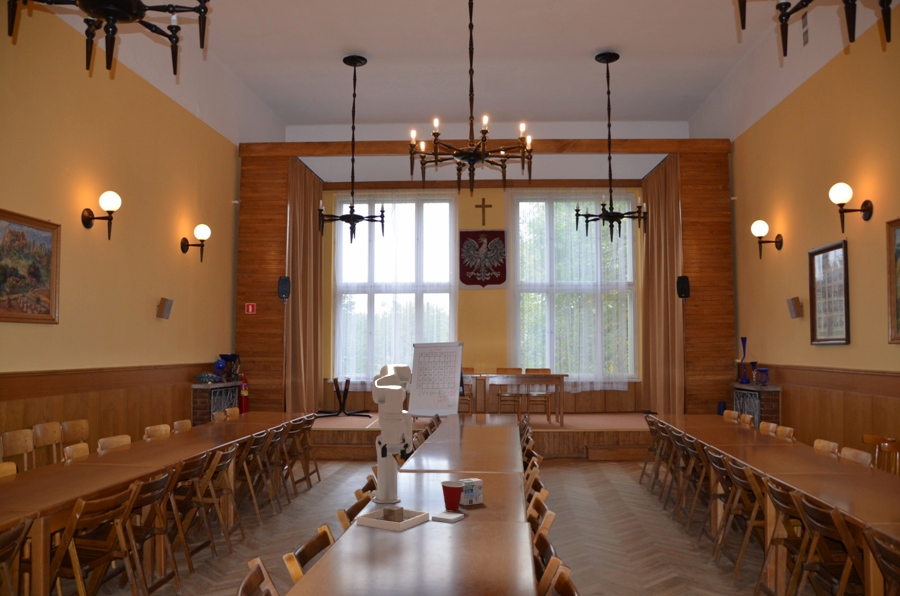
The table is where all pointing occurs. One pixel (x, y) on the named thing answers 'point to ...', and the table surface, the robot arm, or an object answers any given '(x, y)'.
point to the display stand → (448, 517)
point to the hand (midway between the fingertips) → (393, 458)
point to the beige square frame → (371, 521)
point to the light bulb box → (471, 491)
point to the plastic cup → (452, 494)
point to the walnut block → (393, 514)
